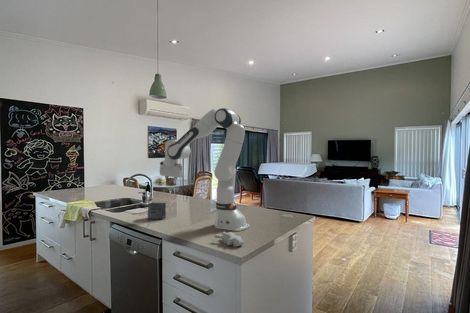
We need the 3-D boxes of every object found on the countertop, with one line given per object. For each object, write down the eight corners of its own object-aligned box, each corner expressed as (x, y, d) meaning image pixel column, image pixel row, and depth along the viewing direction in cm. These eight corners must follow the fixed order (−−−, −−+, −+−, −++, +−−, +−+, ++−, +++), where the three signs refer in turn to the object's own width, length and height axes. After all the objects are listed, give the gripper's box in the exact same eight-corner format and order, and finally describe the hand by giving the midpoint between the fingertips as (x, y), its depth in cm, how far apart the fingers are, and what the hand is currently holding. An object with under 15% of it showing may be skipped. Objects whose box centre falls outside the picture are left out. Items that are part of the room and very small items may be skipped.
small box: (166, 217, 186) (166, 202, 186) (162, 219, 179) (162, 204, 179) (151, 217, 187) (151, 202, 187) (147, 219, 180) (147, 204, 180)
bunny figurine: (234, 241, 126) (212, 231, 135) (233, 252, 126) (212, 241, 136) (247, 236, 133) (225, 227, 142) (246, 246, 133) (224, 236, 143)
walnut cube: (176, 185, 185) (176, 178, 185) (170, 186, 181) (170, 178, 181) (171, 184, 188) (171, 177, 188) (165, 185, 184) (165, 178, 184)
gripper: (185, 163, 181) (185, 184, 181) (165, 162, 193) (164, 181, 193) (178, 163, 176) (178, 184, 176) (158, 162, 188) (157, 182, 188)
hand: (171, 183), depth 185 cm, fingers closed on walnut cube, 5 cm apart
